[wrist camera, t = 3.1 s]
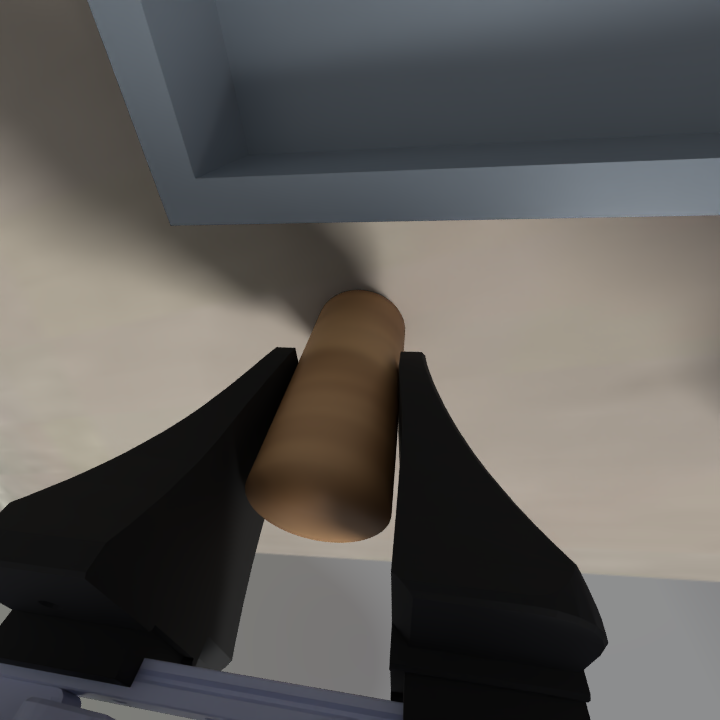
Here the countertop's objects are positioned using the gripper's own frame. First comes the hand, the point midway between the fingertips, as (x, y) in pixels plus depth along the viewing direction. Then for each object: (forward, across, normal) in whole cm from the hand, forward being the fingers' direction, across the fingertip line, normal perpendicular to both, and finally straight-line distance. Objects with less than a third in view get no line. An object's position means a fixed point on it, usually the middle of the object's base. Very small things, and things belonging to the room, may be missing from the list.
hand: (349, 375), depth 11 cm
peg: (+3, 0, 0) cm, 3 cm away
